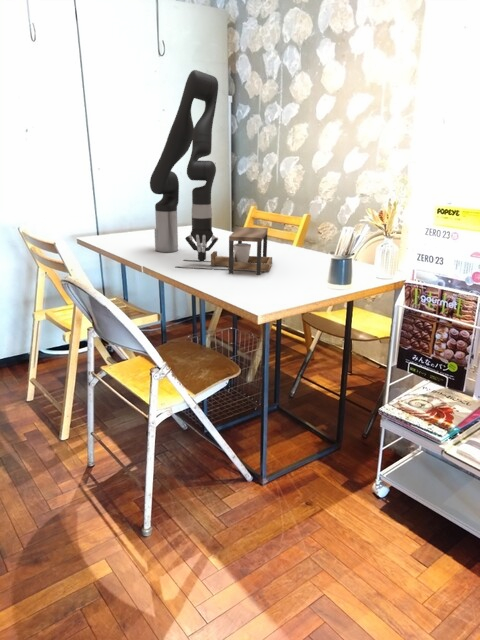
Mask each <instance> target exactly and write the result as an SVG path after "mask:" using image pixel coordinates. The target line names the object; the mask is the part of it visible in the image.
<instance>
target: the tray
mask: <svg viewBox="0 0 480 640" xmlns="http://www.w3.org/2000/svg"><path fill="white" fill-rule="evenodd" d="M233 253H234V251H233ZM210 261H211V262H210V267H215V266H222V267H223V266H224V267H225V266H227V269H229V256H222V255H220V256H219V255H218V251H217V250H213V252H211V254H210ZM272 264H273V256H267V257H263V256H261V271H265V272H269V271H270V268H271V267H272ZM256 269H257V255H256V256H254V255H251V256H250V255H249V259H248V262H247V263H240V262H236V260H235V262H233V270H251V271H256Z"/></svg>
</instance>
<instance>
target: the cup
mask: <svg viewBox="0 0 480 640" xmlns="http://www.w3.org/2000/svg"><path fill="white" fill-rule="evenodd" d="M251 247H252V244H251V243H248V242H247V243H243V242H242V243H238V242H237V243H234V251H233V252H234V253H233V262H235V260H236V262H240V263H247V262H248V259H249V256H250V252H251Z"/></svg>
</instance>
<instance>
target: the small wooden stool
mask: <svg viewBox="0 0 480 640" xmlns="http://www.w3.org/2000/svg"><path fill="white" fill-rule="evenodd" d="M268 232H269V231H268V227H249V226H248V227H247V226H243V227H242V226H238V227H237V228H236V229H235V230H234V231H232V233H231V234H230V235H229V236H228V242H229V243H228V257H229V270H228V274H230V273H232V274H234V271H233V270H234V269H233V252H234V244H235V243H234V242H237V244H238V243H243V242H248V243H249V242H250V243H251V242H254V243H255V242H256V256H257V269H256V272H255V275H257V276H261V273H262V272H261V264H262V263H261V257H268ZM262 241H263V243H262Z"/></svg>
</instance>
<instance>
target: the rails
mask: <svg viewBox="0 0 480 640" xmlns="http://www.w3.org/2000/svg"><path fill="white" fill-rule="evenodd" d="M182 261H184V262H200V260H198V259H197V260H195V259H192V260H191V259H183V260H182ZM204 263H211V260H204ZM174 268H175V269H176V268H177V269H178V268H179V269H193V268H194V269H197V270H212V269H214V270H215V271H229V269H228V268H213V267H212V268H211V267H210V268H208V267H194V266H193V267H189V266H175V267H174ZM194 269H193V270H194ZM214 270H213V271H214ZM235 271H236V272H250V273H251V272H252V273H254V272H255V273H256V271H255V270H236V269H233V272H235ZM265 272H266V271H261V273H265Z"/></svg>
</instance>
